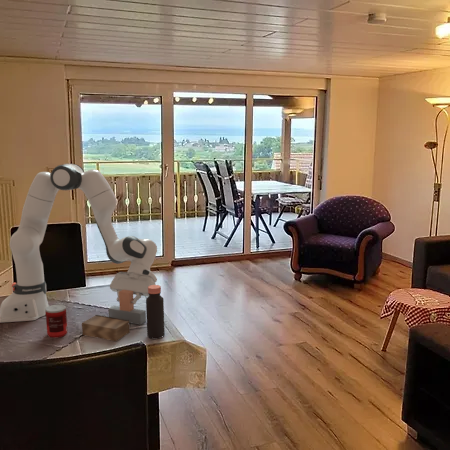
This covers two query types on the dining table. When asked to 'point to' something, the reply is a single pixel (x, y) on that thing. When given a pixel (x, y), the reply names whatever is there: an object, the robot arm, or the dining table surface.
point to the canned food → (56, 321)
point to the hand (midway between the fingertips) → (125, 302)
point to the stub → (127, 309)
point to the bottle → (155, 312)
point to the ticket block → (105, 327)
